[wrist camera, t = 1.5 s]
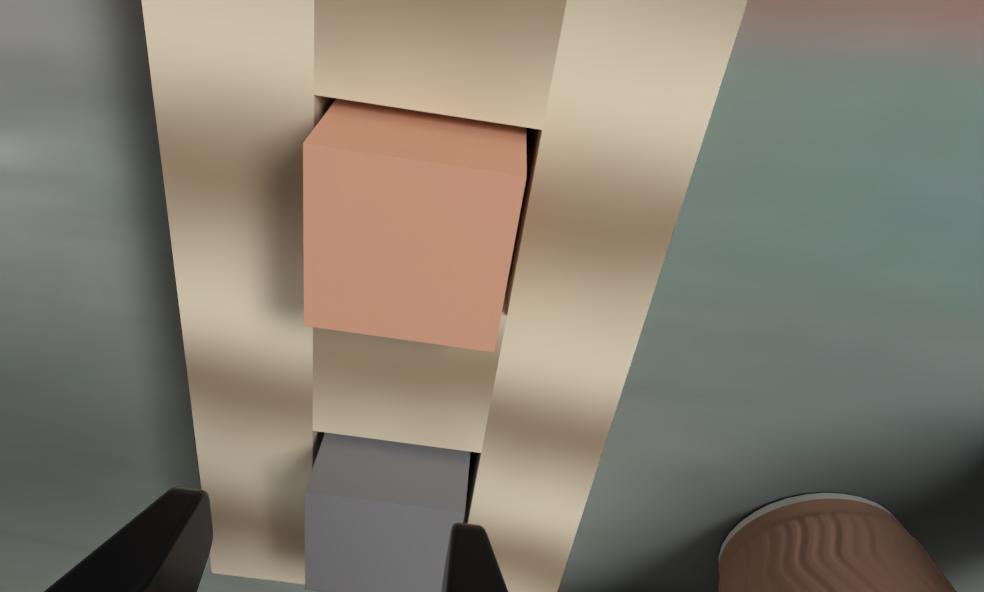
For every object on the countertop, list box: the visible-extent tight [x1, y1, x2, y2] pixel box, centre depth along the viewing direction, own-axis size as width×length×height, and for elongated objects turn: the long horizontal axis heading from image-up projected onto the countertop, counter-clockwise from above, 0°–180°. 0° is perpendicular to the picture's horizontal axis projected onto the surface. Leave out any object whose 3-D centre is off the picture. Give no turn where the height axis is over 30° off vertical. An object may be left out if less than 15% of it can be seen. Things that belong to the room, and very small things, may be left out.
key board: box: [141, 0, 748, 592], centre depth 18 cm, size 30×12×3 cm, turn 172°
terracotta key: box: [303, 98, 527, 352], centre depth 16 cm, size 4×4×4 cm
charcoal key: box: [305, 432, 470, 592], centre depth 22 cm, size 4×4×4 cm
